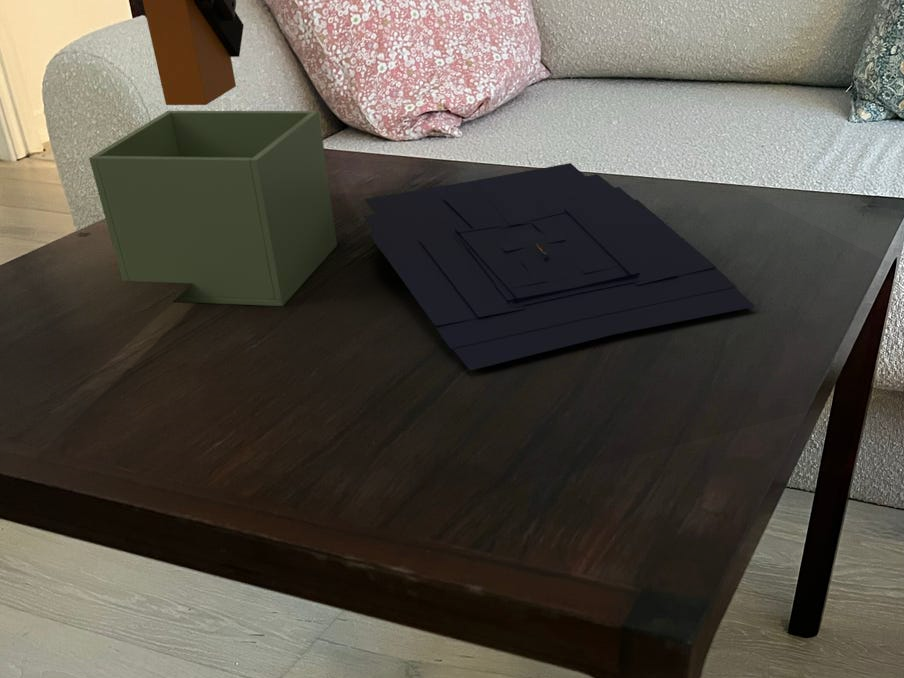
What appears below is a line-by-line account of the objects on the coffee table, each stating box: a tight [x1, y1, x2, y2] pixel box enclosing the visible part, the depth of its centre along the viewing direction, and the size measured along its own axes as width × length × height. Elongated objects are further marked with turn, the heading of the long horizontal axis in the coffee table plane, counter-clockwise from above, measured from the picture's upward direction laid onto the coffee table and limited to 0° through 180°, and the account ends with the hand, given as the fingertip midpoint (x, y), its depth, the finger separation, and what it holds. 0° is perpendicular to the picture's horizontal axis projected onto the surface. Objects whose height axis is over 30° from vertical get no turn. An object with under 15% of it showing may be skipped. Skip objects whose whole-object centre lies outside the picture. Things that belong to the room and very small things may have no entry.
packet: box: [143, 0, 237, 106], centre depth 81 cm, size 4×6×10 cm, turn 167°
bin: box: [88, 110, 338, 307], centre depth 90 cm, size 14×14×12 cm
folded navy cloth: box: [362, 162, 756, 371], centre depth 88 cm, size 24×30×4 cm
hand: (212, 40), depth 85 cm, fingers closed on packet, 4 cm apart
